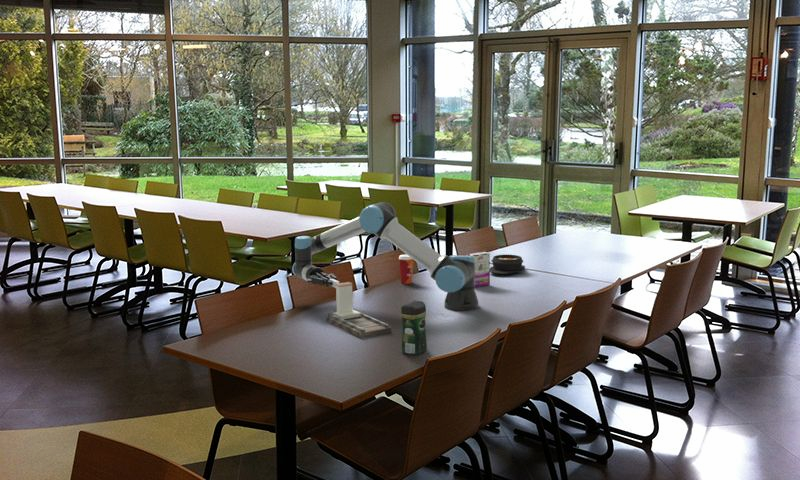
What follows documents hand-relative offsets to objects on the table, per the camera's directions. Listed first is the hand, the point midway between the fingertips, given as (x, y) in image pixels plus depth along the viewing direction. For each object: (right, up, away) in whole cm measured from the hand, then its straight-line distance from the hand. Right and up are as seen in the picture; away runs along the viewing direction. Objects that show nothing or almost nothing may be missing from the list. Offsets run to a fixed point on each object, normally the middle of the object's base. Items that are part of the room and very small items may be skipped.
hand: (337, 284), depth 330 cm
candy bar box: (+65, -4, +57) cm, 87 cm away
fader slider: (+4, -13, -4) cm, 14 cm away
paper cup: (+30, -3, +66) cm, 72 cm away
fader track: (+9, -16, -11) cm, 22 cm away
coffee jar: (+31, -22, -44) cm, 58 cm away
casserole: (+84, +1, +88) cm, 121 cm away
